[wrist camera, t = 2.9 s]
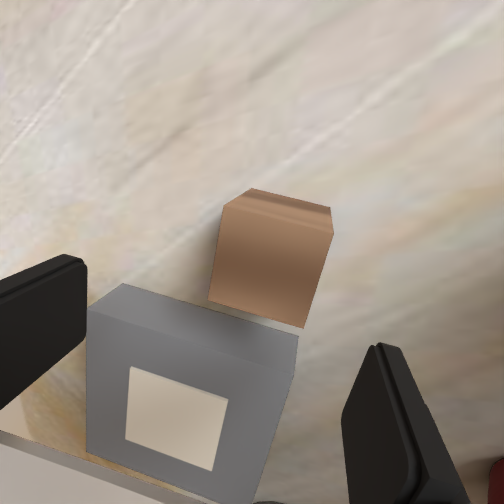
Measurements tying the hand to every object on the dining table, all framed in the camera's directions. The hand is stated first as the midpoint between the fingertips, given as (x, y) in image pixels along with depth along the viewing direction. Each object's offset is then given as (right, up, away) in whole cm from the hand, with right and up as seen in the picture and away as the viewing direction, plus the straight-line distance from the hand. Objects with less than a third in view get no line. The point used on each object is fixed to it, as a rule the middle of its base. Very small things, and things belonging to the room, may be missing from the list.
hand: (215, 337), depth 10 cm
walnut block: (+3, +4, +10) cm, 11 cm away
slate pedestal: (-4, -8, +16) cm, 18 cm away
